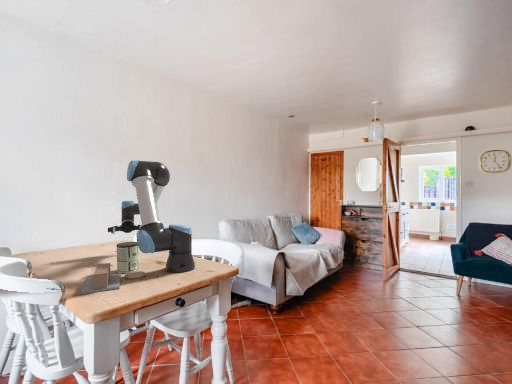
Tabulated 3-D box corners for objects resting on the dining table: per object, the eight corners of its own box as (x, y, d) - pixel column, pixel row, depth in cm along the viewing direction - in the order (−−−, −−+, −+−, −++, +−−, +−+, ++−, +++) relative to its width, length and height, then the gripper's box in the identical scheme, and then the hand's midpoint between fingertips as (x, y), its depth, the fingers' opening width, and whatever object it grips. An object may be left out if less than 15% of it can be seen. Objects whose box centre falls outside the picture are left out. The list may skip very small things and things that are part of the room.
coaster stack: (149, 275, 133) (149, 271, 133) (138, 281, 124) (138, 277, 124) (132, 274, 134) (132, 270, 134) (120, 280, 125) (120, 276, 125)
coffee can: (122, 267, 144) (122, 241, 144) (141, 267, 145) (141, 241, 145) (112, 273, 134) (112, 245, 134) (133, 273, 134) (133, 245, 135)
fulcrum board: (119, 288, 113) (119, 272, 113) (80, 294, 107) (79, 276, 107) (120, 275, 131) (120, 261, 131) (87, 279, 125) (87, 264, 125)
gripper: (149, 231, 173) (151, 235, 154) (104, 233, 162) (101, 239, 143) (149, 219, 173) (151, 222, 154) (104, 221, 162) (101, 225, 143)
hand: (127, 230), depth 148 cm, fingers open, 13 cm apart
